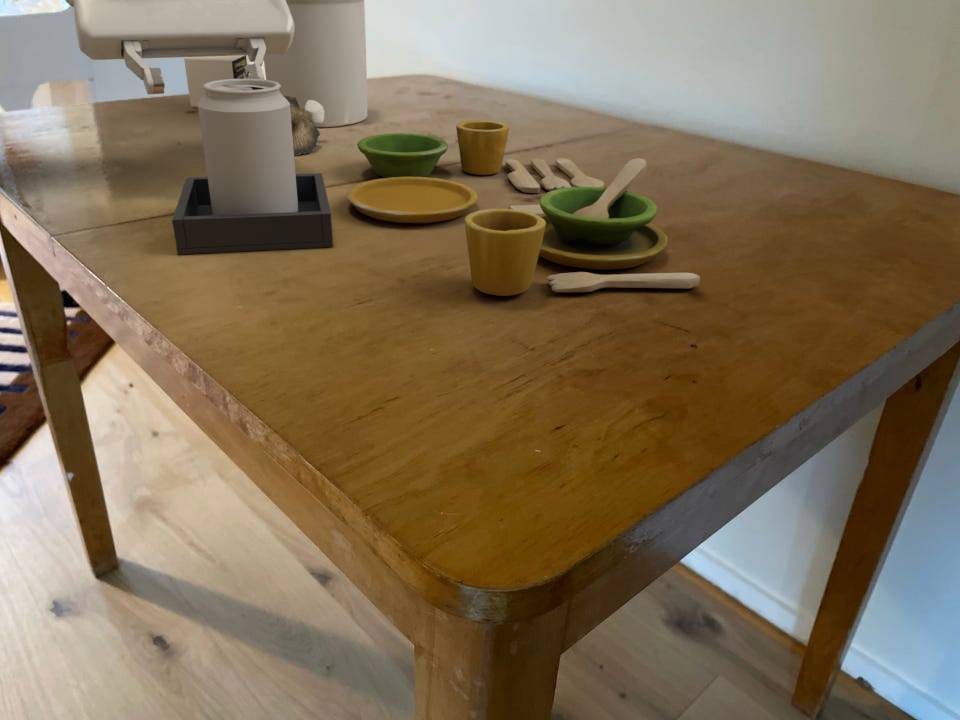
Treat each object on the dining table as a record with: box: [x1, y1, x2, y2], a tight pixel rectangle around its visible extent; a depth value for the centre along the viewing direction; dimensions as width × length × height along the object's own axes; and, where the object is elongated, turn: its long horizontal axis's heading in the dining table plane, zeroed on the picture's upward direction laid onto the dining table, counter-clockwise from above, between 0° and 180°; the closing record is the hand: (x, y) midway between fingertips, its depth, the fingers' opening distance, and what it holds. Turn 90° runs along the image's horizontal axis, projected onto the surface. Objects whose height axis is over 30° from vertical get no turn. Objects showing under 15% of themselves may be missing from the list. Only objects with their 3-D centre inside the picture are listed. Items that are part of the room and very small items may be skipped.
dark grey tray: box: [171, 172, 334, 256], centre depth 70 cm, size 13×13×3 cm
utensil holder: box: [263, 0, 368, 128], centre depth 108 cm, size 15×15×18 cm
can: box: [197, 79, 298, 215], centre depth 68 cm, size 8×8×12 cm
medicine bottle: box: [183, 55, 248, 108], centre depth 116 cm, size 7×7×12 cm
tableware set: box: [345, 119, 701, 297], centre depth 74 cm, size 41×28×6 cm
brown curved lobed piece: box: [283, 95, 325, 156], centre depth 96 cm, size 8×7×9 cm
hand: (208, 87), depth 75 cm, fingers open, 8 cm apart
